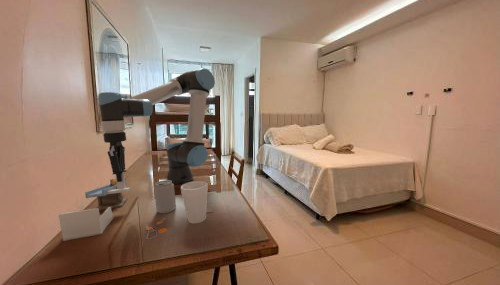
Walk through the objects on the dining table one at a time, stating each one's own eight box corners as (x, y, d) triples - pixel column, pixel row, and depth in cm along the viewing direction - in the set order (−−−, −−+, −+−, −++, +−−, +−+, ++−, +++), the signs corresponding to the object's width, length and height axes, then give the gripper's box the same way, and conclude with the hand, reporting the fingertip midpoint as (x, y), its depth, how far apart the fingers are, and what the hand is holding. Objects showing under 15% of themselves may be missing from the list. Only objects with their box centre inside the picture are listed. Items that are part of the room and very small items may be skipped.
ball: (122, 185, 102) (121, 178, 102) (116, 187, 99) (115, 179, 98) (116, 185, 103) (115, 178, 102) (110, 187, 99) (109, 180, 99)
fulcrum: (100, 203, 95) (98, 186, 94) (127, 199, 98) (125, 183, 97) (93, 211, 87) (90, 192, 86) (122, 206, 90) (119, 189, 89)
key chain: (167, 235, 67) (167, 233, 67) (142, 241, 64) (142, 239, 64) (167, 218, 79) (167, 216, 78) (146, 222, 76) (145, 220, 76)
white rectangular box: (81, 223, 77) (77, 200, 76) (113, 218, 80) (110, 195, 79) (63, 240, 66) (58, 214, 65) (101, 234, 69) (97, 208, 68)
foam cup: (182, 216, 79) (179, 183, 77) (207, 210, 82) (204, 179, 81) (185, 228, 70) (182, 191, 68) (212, 221, 74) (209, 186, 72)
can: (153, 210, 85) (150, 182, 83) (171, 204, 90) (168, 178, 88) (161, 216, 79) (158, 186, 78) (179, 209, 85) (176, 181, 83)
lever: (113, 187, 104) (112, 179, 104) (141, 184, 108) (140, 175, 108) (85, 198, 77) (84, 186, 77) (124, 192, 81) (123, 181, 81)
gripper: (109, 131, 88) (116, 184, 91) (96, 133, 75) (105, 195, 78) (129, 130, 90) (135, 182, 93) (119, 132, 77) (127, 192, 80)
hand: (121, 188), depth 86 cm, fingers closed
